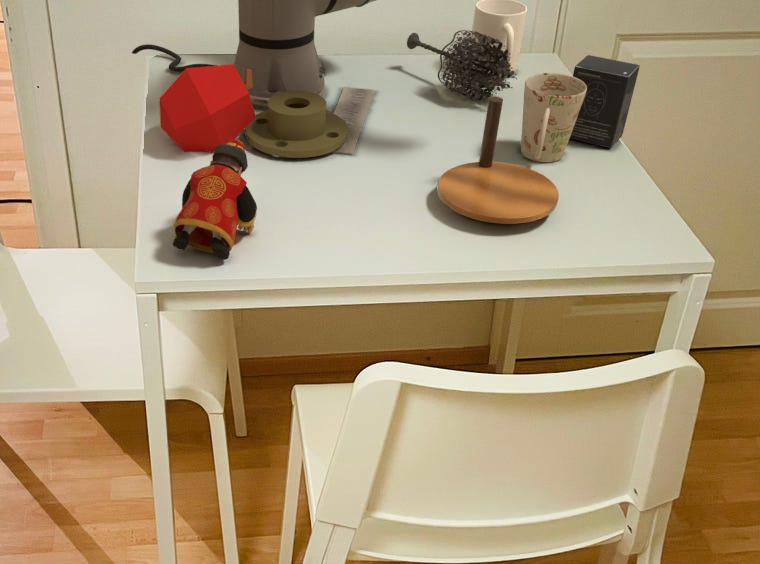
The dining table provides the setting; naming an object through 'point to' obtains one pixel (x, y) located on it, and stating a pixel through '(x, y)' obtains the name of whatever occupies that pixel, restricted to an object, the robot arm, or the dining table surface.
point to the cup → (501, 25)
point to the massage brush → (471, 64)
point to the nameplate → (352, 115)
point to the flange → (296, 126)
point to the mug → (549, 114)
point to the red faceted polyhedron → (206, 107)
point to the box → (604, 99)
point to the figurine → (216, 203)
